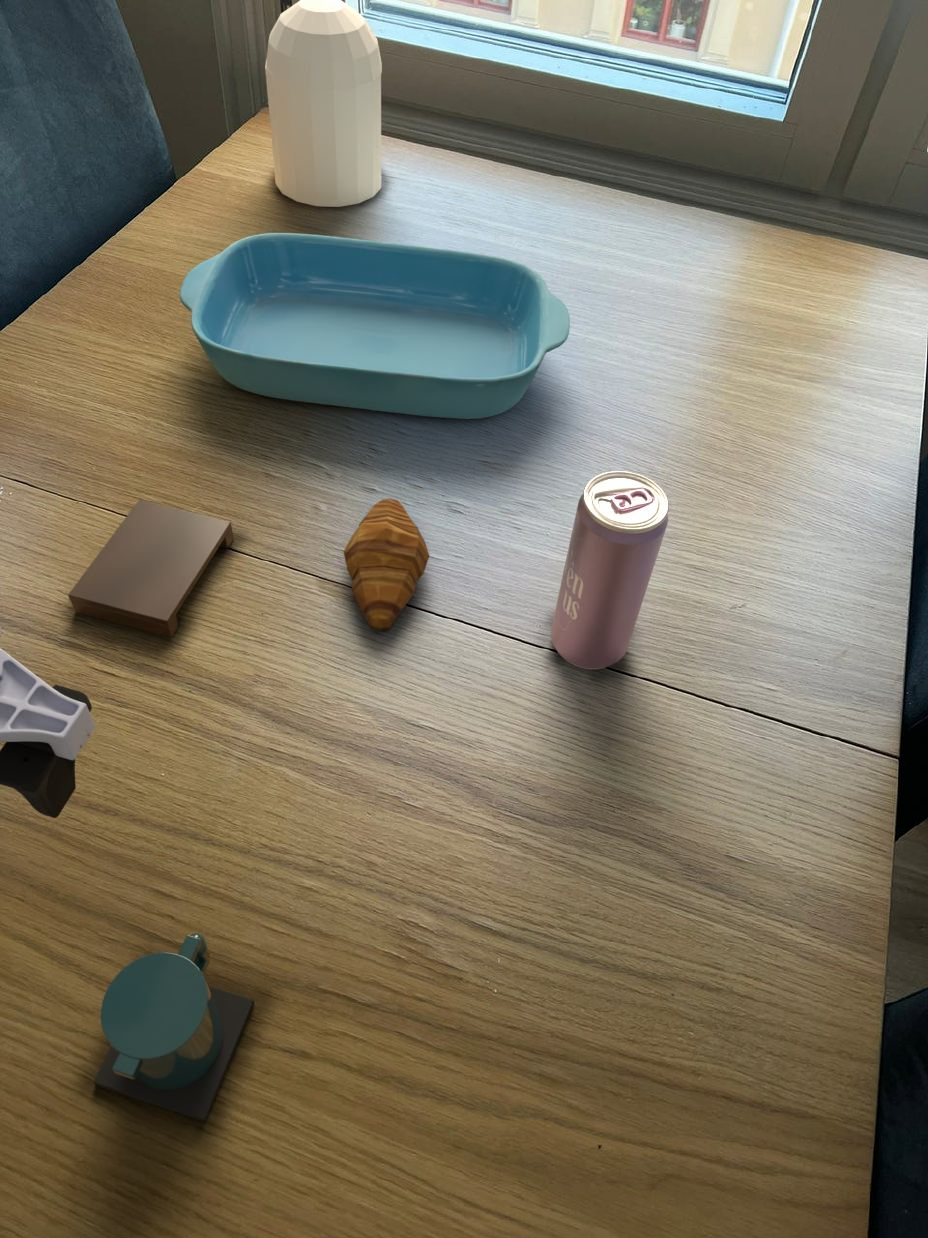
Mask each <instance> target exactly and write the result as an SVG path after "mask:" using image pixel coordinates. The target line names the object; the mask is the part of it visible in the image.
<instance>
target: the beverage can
mask: <svg viewBox="0 0 928 1238" xmlns="http://www.w3.org/2000/svg"><path fill="white" fill-rule="evenodd" d="M669 502H670V501H669V498H668V496H667V494H666V493H665V491H664V490H663V489H662V487H660V486H659V485H658V484H657V483H656V482H655V481H653V480H652V479H651V478H649V477H646V476H645V475H641V474H639V473H635V472H631V471H623V470H613V471H608V472H607V471H606V472H603V473H601V474H598V475H596V476H594V477H593V478H592V479H590V480H589V482H587V484H586V485H585V487H584V489H583V493H582V494H581V495H580V498H579V499H578V502H577V506H576V511H575V517H574V521H573V526H572V530H571V535H570V539H569V545H568V549H567V554H566V560H565V563H564V567H563V571H562V577H561V582H560V587H559V591H558V596H557V600H556V604H555V605H556V606H555V610H554V614H553V619H552V623H551V629H550V638H551V643H552V644H553V647H554V648H555V650H556V652H557V653H558V654H559V655H560V656H561V658H562V659H564V660H565V661H566V662H567V663H569V664H570V665H572V666H575V667H577V668H581V669H584V670H602V669H605V668H608V667H611V666H613V665H614V664H616V663H618V662H620V660H622V659H623V657H624V656H625V655H626V653H627V651H628V649H629V645H630V642H631V639H632V636H633V633H634V630H635V626H636V624H637V621H638V617H639V614H640V612H641V608H642V605H643V602H644V599H645V595H646V592H647V589H648V586H649V583H650V580H651V577H652V574H653V571H654V568H655V564H656V562H657V558H658V555H659V552H660V549H661V546H662V543H663V540H664V536H665V534H666V530H667V527H668V523H669V512H670V511H669V510H670V503H669Z"/></svg>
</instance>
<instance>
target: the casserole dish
mask: <svg viewBox="0 0 928 1238" xmlns="http://www.w3.org/2000/svg"><path fill="white" fill-rule="evenodd" d="M547 285H548V284H547V283H546V281H545V279H544V278H543V277H542V276H541V275H540V274H539V273H538V272H537V271H536V270H534V269H533V268H532V267H529V266H527V265H525V264H523V263H520V262H518V261H515V260H513V259H512V260H511V259H508V258H504V257H500V256H494V255H489V254H483V253H477V252H469V251H462V250H454V249H447V248H440V247H439V248H438V247H430V246H420V245H412V244H402V243H395V242H385V241H377V240H376V241H375V240H369V239H368V240H367V239H359V238H349V237H341V236H330V235H322V234H309V233H294V232H268V233H260V234H254V235H250V236H247V237H243V238H241V239H238V240H236V241H234V242H232V243H231V244H229V246H228V247H226V248H224V250H223V251H221V252H220V253H218V254H217V255H214V256H212V257H210V258H208V259H206V260H203V261H202V262H200V263H198V264H197V265H195V266H194V267H193V268H192V269H191V270H189V272H188V273H186V276H185V278H184V280H183V281H182V283H181V286H180V289H179V300H180V302H181V304H182V305H183V306H184V307H185V308H186V309H187V310H188V311H190V313H191V315H190V325H191V328H192V332H193V335H195V337H196V339H197V341H198V342H199V345H200V346H201V348H202V350H203V352H204V354H205V355H206V356H207V358H208V360H209V362H210V363H211V365H212V366H213V368H214V369H215V370H216V372H217V373H218V374H219V375H220V376H221V378H223V379H224V380H226V381H227V382H228V383H230V384H231V385H232V386H234V387H237V388H239V389H241V390H244V391H246V392H249V393H253V394H256V395H259V396H265V397H268V398H272V399H273V398H274V399H280V400H288V401H296V402H301V403H302V402H303V403H311V404H319V405H325V406H326V405H327V406H334V407H343V408H351V409H362V410H370V411H376V412H377V411H378V412H385V413H386V412H387V413H395V414H403V415H412V416H421V417H431V418H444V419H445V418H446V419H465V420H474V419H475V420H479V419H480V420H481V419H486V418H491V417H494V416H498V415H500V414H503V413H505V412H507V411H509V410H510V409H511V408H513V407H515V405H516V404H518V403H519V402H520V401H521V400H522V398H523V396H524V395H525V394H526V393H527V390H528V389H529V388H530V385H531V383H532V381H533V379H534V377H535V375H536V374H537V372H538V369H539V368H540V366H541V364H542V362H543V360H544V357H545V356H546V354H547V353H549V352H551V351H554V350H555V349H559V348H560V347H561V346H562V345H564V343H566V341H567V340H568V338H569V334H570V327H571V325H570V323H571V319H570V313H569V309H568V307H567V305H566V304H565V303H564V301H562V300H561V299H560V298H559V297H557V296H556V295H555V294H553V293H552V292H551V291H549V288H548V286H547Z"/></svg>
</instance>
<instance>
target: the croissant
mask: <svg viewBox="0 0 928 1238" xmlns="http://www.w3.org/2000/svg"><path fill="white" fill-rule="evenodd" d="M343 555H344V560H345V561H344V562H345V564H346V569H347V572H348V573H349V576H350V578H351V579H352V586H351V591H352V594H353V596H354V597H355V600H356V602H357V604H358V606H359V609H360V611H361V612H362V614H363V615H364V617H365V619H366V620H367V622H368V626H369V627H370V629H371V630H373V631H376V632H385V631H389V630H390V628H391V627H392V626H393V624H394V622H395V621H396V619H397V618H398V616H399V615H400V613H401V612H402V611H403V609H404V607H405V606H406V605H407V603H408V602H409V600H410V599H411V598H412V597H413V595H414V593H415V588H416V583H417V582H418V581H419V579H420V578H421V577H422V576H423V575H424V572H425V570H426V567H427V564H428V561H429V559H430V553H429V550H428V547H427V543H426V541H425V539H424V537H423V535H422V534H421V532H420V530H419V527H418V526H417V525H416V523H415V522H414V521H413V520H412V519H411V517H410V516H409V514H408V512H407V511H406V509H405V507H404V505H403V504H402V503H400V501H399V500H398V499H394V498H384V499H381V500H379V501H378V502H377V503H375V504H374V505H373V506H372V508H371V509H370V510H369V511H368V513H367V514H366V515H365V517H364V518H363V519H362V520H361V522H360V523H359V524H358V528H357V529H356V530H355V531H354V533H353V534H352V536H351V537H350V539H349V540H348V543H347V544H346V546H345V548H344V550H343Z"/></svg>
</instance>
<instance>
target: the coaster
mask: <svg viewBox="0 0 928 1238" xmlns="http://www.w3.org/2000/svg"><path fill="white" fill-rule="evenodd" d="M208 987H209V989H210V992H211V994H212V996H213V999H214V1001H215V1003H216V1005H217V1008H218V1010H219V1012H220V1015H221V1018H222V1021H223V1029H224V1035H223V1042H222V1046H221V1049H220V1052H219V1054H218V1056H217V1058H216V1060H215V1062H214V1063H213V1065H212V1066H211V1067H210V1068H209V1070H208V1071H207V1072H206V1073H205V1074H204V1075H203V1076H202V1077H200V1078H199V1079H198V1080H196V1081H195V1082H193V1083H191V1084H189V1085H187V1086H185V1087H182V1088H179V1089H174V1090H159V1089H155V1088H151V1087H149V1086H147V1085H145V1084H144V1083H142V1082H141V1081H140V1080H139V1079H137V1077H136V1078H135V1079H130V1078H127V1077H124V1076H121V1075H118V1074H115V1072H114V1071H113V1070H112V1068H113V1066H114V1064H115V1062H116V1060H117V1058H118V1056H119V1055H118V1053H117V1052H116V1051H115V1050H114V1048H113V1047H112V1046H111V1045H110V1047H109V1050H108V1051H107V1054H106V1055H105V1058H104V1059H103V1062H102V1063H101V1066H100V1067H99V1070H98V1072H97V1074H96V1075H95V1078H94V1080H93V1082H92V1083H93V1084H94V1085H95V1086H97V1087H100V1088H103V1089H107V1090H109V1091H112V1092H115V1093H117V1094H120V1095H124V1096H127V1097H129V1098H132V1099H135V1100H139V1101H142V1102H144V1103H148V1104H150V1105H154V1106H156V1107H159V1108H162V1109H166V1110H168V1111H171V1112H175V1113H177V1114H180V1115H183V1116H186V1117H189V1118H192V1119H195V1120H198V1121H202V1122H206V1121H207V1119H208V1116H209V1114H210V1111H211V1110H212V1109H211V1108H212V1106H213V1105H214V1101H215V1099H216V1097H217V1094H218V1091H219V1090H220V1087H221V1084H222V1083H223V1080H224V1077H225V1075H226V1072H227V1070H228V1068H229V1065H230V1062H231V1060H232V1058H233V1056H234V1053H235V1050H236V1048H237V1046H238V1043H239V1042H240V1040H241V1039H240V1038H241V1037H242V1034H243V1031H244V1030H245V1026H246V1024H247V1021H248V1020H249V1017H250V1014H251V1013H252V1009H253V1006H254V1005H255V1001H254V999H252V998H249V997H246V996H243V995H241V994H240V995H239V994H236V993H233V992H230V991H227V990H225V989H224V990H223V989H220V988H217V987H214V986H212V985H208Z"/></svg>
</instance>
